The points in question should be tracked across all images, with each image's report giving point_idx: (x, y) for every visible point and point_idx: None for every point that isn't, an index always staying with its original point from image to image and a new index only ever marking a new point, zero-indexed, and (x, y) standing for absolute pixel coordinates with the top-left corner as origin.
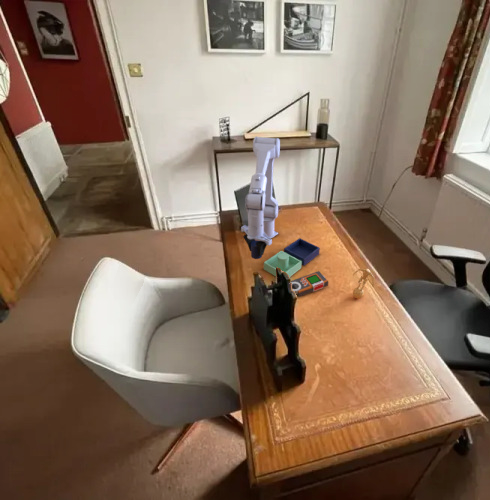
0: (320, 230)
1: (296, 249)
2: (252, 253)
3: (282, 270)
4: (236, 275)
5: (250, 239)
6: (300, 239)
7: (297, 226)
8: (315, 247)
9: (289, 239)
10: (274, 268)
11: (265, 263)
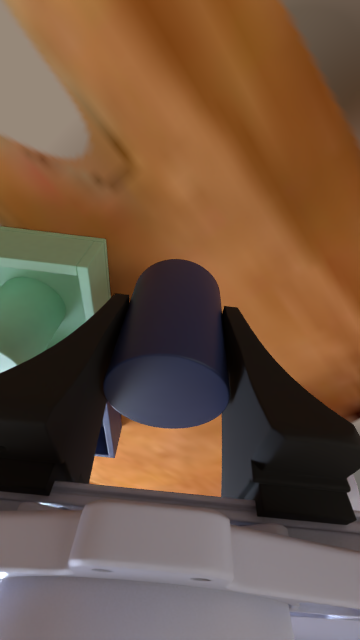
0: (123, 476)
1: None
2: (180, 286)
3: (4, 284)
4: (228, 4)
5: (95, 505)
6: (105, 454)
7: (192, 472)
8: None
9: (170, 432)
10: None
11: (68, 265)
